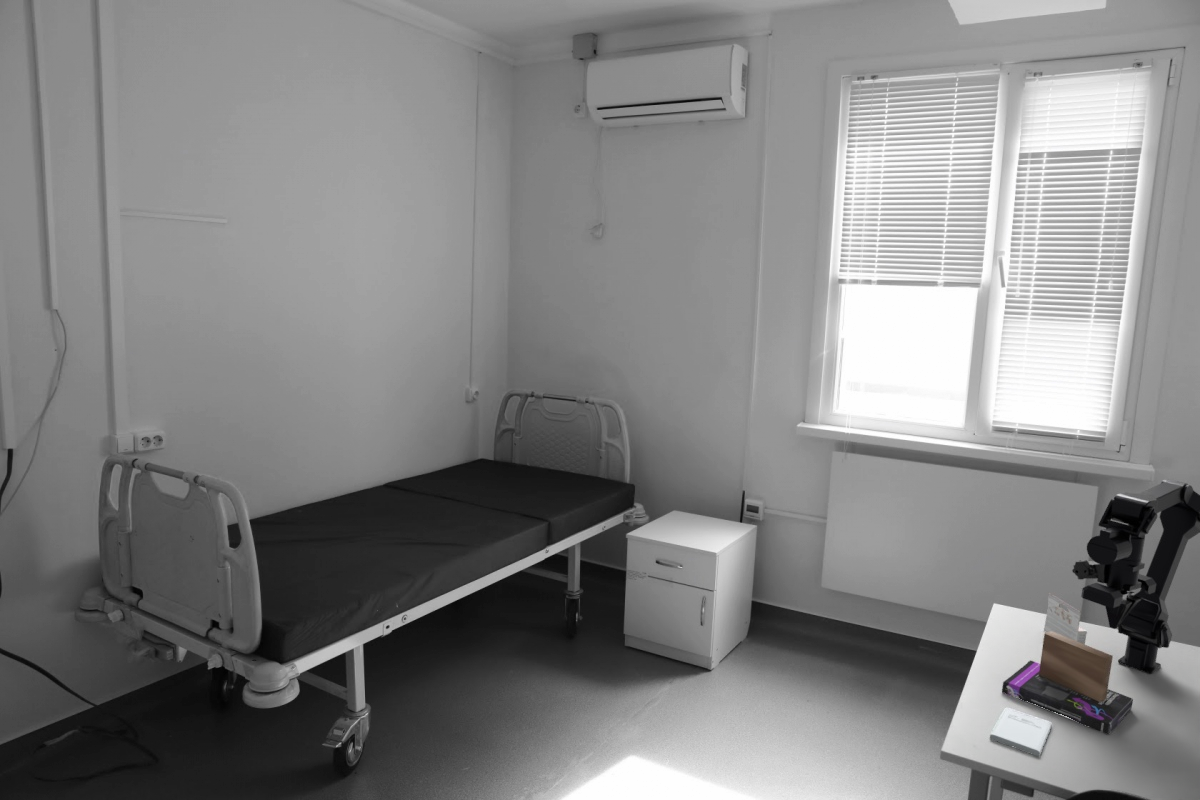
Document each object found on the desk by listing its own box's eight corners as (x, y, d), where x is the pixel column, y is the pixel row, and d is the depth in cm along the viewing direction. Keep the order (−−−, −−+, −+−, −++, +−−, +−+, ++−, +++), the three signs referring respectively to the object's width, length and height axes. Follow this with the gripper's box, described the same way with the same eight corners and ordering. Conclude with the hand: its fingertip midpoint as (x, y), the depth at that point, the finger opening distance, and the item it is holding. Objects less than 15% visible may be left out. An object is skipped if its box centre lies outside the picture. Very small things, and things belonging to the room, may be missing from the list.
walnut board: (1045, 671, 169) (1050, 631, 168) (1106, 698, 159) (1112, 655, 158) (1038, 674, 168) (1044, 633, 166) (1099, 702, 158) (1106, 658, 156)
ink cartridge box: (1052, 630, 196) (1058, 592, 194) (1084, 652, 185) (1090, 612, 183) (1042, 630, 196) (1048, 592, 194) (1074, 652, 185) (1080, 612, 183)
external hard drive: (989, 741, 149) (1004, 713, 158) (1039, 759, 144) (1051, 729, 154) (990, 733, 148) (1005, 705, 158) (1040, 751, 144) (1052, 721, 153)
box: (1000, 696, 166) (1108, 739, 151) (1002, 680, 165) (1111, 721, 151) (1028, 675, 175) (1132, 713, 161) (1030, 659, 174) (1134, 696, 160)
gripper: (1106, 537, 179) (1095, 604, 182) (1060, 550, 169) (1050, 621, 172) (1162, 553, 170) (1150, 624, 173) (1118, 568, 160) (1106, 643, 162)
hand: (1113, 627), depth 170 cm, fingers closed
